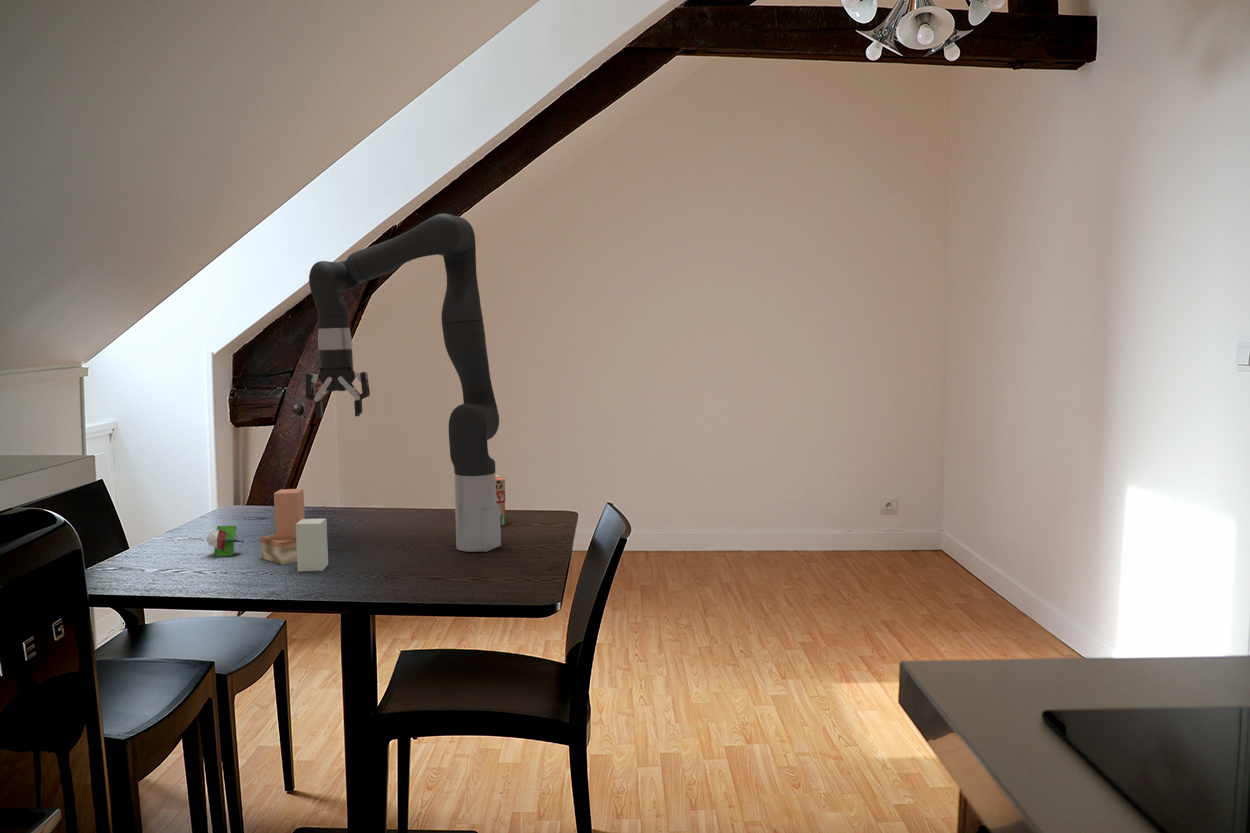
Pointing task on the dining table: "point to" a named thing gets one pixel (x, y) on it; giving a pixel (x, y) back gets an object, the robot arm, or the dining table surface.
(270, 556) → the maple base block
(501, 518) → the stack of blocks
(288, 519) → the terracotta block
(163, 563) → the dining table surface
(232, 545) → the geometric puzzle
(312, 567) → the sage block
